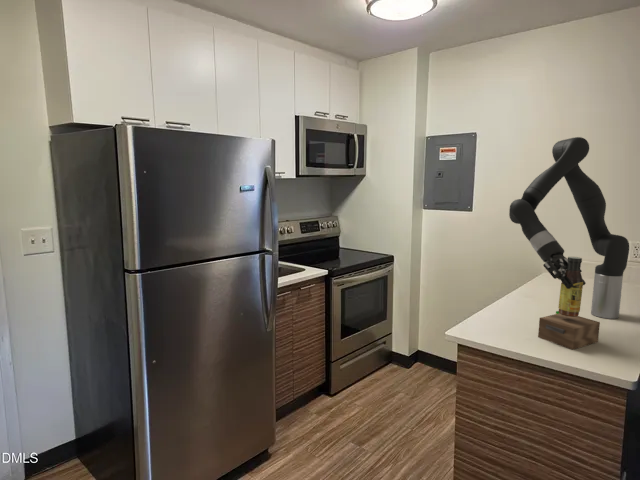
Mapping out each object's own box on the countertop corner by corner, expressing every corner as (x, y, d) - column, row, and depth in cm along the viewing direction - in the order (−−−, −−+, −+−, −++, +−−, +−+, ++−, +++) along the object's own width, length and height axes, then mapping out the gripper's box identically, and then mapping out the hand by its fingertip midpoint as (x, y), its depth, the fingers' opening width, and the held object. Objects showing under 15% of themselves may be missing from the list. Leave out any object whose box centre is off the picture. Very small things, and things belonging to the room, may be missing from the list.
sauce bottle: (572, 318, 132) (578, 259, 129) (553, 313, 137) (559, 256, 134) (583, 315, 135) (589, 258, 132) (565, 310, 140) (570, 255, 137)
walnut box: (562, 330, 146) (564, 312, 145) (598, 342, 135) (599, 322, 134) (536, 337, 139) (538, 318, 138) (571, 350, 128) (573, 329, 127)
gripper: (540, 241, 136) (572, 282, 127) (566, 238, 142) (598, 278, 134) (525, 254, 141) (555, 294, 133) (551, 251, 148) (581, 289, 139)
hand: (577, 286), depth 133 cm, fingers closed on sauce bottle, 6 cm apart
